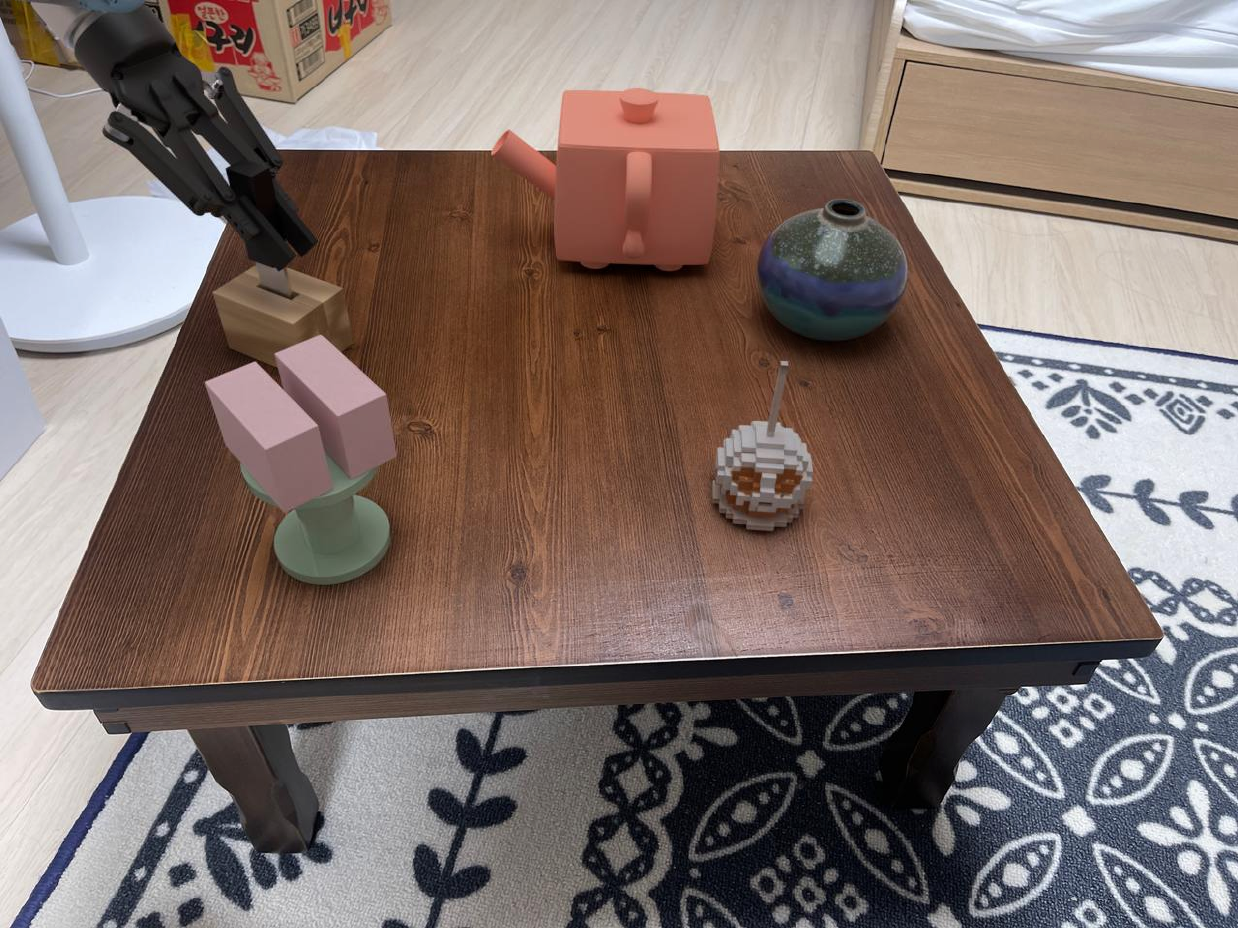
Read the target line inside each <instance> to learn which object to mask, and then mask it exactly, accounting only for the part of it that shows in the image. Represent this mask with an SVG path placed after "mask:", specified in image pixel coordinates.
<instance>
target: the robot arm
mask: <svg viewBox="0 0 1238 928" xmlns="http://www.w3.org/2000/svg"><path fill="white" fill-rule="evenodd" d="M16 1H17V2H18V1H19V2H27V4H29V6H30V7H31V8H32V9H33V10H34V11H35V12H36V13H37V15H38V16H39V17H40V18H41V19H42V21H44V23H45V24H46V25H47V26H48V27H49V29H50V30H51V32H53V33H54V35H55V36H56V37H57V38H58V39H59V40H60V41H61V43H62V44H63V45H64V46H65V47H66V49H69V50H71V51H74V58H75V60H76V61H77V63H79V64H80V66H81V67H82V68H83V69H84V71H85V72H86V73H87V74H88V75H89V76H90V77H91V79H92V80H93V81H94V82H95V83H96V84H97V86H98V87H99V88H100V89H101V90H102V91H104V92H106V93H108V94H109V96H110V99H111V102H112V106H113V107H114V109H115V110H114V111H111V112H110V114H109V115H108V117H107V119H106V121H105V123H104V125H103V127H102V130H101V132H102V135H103V136H104V138H106V139H108V140H109V141H111V142H113V143H114V144H116V145H118V146H120V147H121V148H123V149H125V150H127V151H128V152H129V153H130V154H131V155H132V156H133V157H134V158H135V159H136V160H137V161H139V162H140V164H142V166H144V167H145V169H147V171H148V172H150V173H151V174H152V175H153V176H154V177H155V178H156V179H157V180H158V181H159V182H160V183H161V184H162V185H164V186H165V188H167V189H168V191H170V193H172V194H173V195H174V196H175V197H176V198H177V199H178V200H179V201H180V202H181V203H182V204H183V205H184V206H185V207H186V208H187V209H188V210H189V211H190V212H192V214H194V215H195V216H198V217H202V216H203V217H204V215H205V214H210V215H211V216H212V217H214V218H216V219H217V218H218V219H219V218H222V217H223V218H224V219H225V220H226V222H227V223H228V224H229V225H230V226H231V228H233V230H234V232H236V233H237V234H238V236H239V237H240V238H241V239H242V240H243V241H244V240H245V241H246V242H250V241H251V240H252V241H253V242H254V243H255V244H256V245H257V247H258V248H259V249H260V250H261V251H262V253H263V254H264V255H265V256H266V257H267V259H268V260H269V261H270V262H271V263H272V264H273V266H274V267H275V268H276V269H277V270H278V272H279V271H281V270H282V269H284V268H285V267H287V266H288V265H289V264H290V263H291V262H292V261H293V260H294V259H295V258H296V257H297V255H298V256H299V257H300V258H302V257H304V256H306V255H308V253H309V252H310V251H311V250H312V249H313V248H314V247H315V246H316V245H317V244H318V243H319V239H318V238H317V237H316V236H315V234H314V233H313V232H312V231H311V229H309V227H308V226H307V225H306V223H305V222H304V221H303V220H302V219H301V217H300V216H299V215H298V214H297V213H296V212H297V211H298V206H297V203H295V201H294V200H293V199H292V198H291V196H290V195H289V194H288V193H287V191H286V190H285V189H284V188H283V186H281V184H280V183H279V181H278V180H277V176H278V174H279V171H280V170H281V168H282V167H283V166H284V164H285V162H284V161H285V160H284V157H282V155H281V153H280V152H279V150H278V149H277V147H276V146H275V144H274V143H273V141H272V139H271V138H270V137H269V135H268V134H267V132H266V131H265V129H264V128H263V127H262V125H261V123H260V122H259V120H258V119H257V117H256V116H255V114H254V113H253V111H252V110H251V108H250V107H249V106H248V104H247V102H246V101H245V100H244V98H243V97H242V95H241V94H240V92H239V90H238V87H237V84H236V80H235V78H234V74H233V72H232V70H231V69H230V68H229V67H226V66H220V67H219V68H218V69H217V71H209V70H202V69H200V67H199V66H198V64H196V63H194V62H193V61H192V60H190V59H188V58H187V57H186V56H185V55H183V54H182V53H181V50H180V48H179V46H178V44H177V40H176V38H175V37H174V36H173V34H172V33H171V32H170V31H169V29H168V28H167V27H166V26H165V25H164V24H163V22H162V21H161V20H160V19H159V17H158V16H157V15H156V14H155V12H154V11H153V10H152V9H151V7H149V6H148V5H146V4H144V3H146V1H147V0H16ZM205 91H206V92H207V95H206V94H205ZM212 100H213V101H214V102H213V101H212ZM220 114H221V115H220ZM140 123H141V124H140ZM142 124H143V125H145V126H147V127H149V128H151V129H152V130H153V132H154V134H155V135H156V136H155V135H154V134H152V132H150V130H148V129H147V128H146V127H145V126H143V125H142ZM196 136H201V138H203V139H204V140H205V142H207V143H208V144H209V146H211V147H212V149H214V151H215V152H217V153H218V154H219V155H220V157H221V158H223V160H224V161H225V162H226V163H228V165H229V166H231V165H233V164H235V163H237V162H239V161H241V160H243V159H245V160H248V161H251V162H254V163H257V164H260V165H263V166H266V167H269V169H270V173H271V177H272V182H273V186H274V191H275V195H276V200H277V204H278V208H279V213H280V217H281V222H282V226H283V230H284V235H285V239H286V242H285V241H284V240H283V238H282V237H281V236H280V235H279V234H278V232H277V231H276V230H275V229H274V228H273V226H272V225H271V224H270V223H269V222H268V220H267V219H266V218H265V217H264V216H263V214H262V213H261V212H260V211H259V210H258V209H257V207H256V206H255V205H254V204H253V203H252V201H251V200H250V199H249V198H248V197H247V195H244V196H242V197H240V198H239V199H238V201H237V200H236V199H235V198H236V195H235V193H234V191H233V190H232V188H231V187H230V185H229V182H228V181H227V180H226V179H225V177H224V175H223V174H222V173H221V171H220V169H219V168H218V167H217V166H216V164H215V162H213V161H214V160H212V158H211V157H210V156H209V154H208V153H207V151H206V150H205V148H204V147H203V146H202V144H201V143H200V141H199V140H198V139H197V138H198V137H196ZM157 137H158V138H157ZM287 242H288V243H287ZM289 245H290V246H291V247H290V246H289ZM292 248H293V249H292ZM296 253H297V254H296Z"/></svg>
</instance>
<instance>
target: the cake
mask: <svg viewBox="0 0 1238 928" xmlns="http://www.w3.org/2000/svg"><path fill="white" fill-rule="evenodd" d="M274 355H275V359H276V362H277V366H278V368H277V369H278V373H279V377H280V381H281V385H282V386H280V385H279V384H278V383H277V382H276V380H274V379H273V377H271V376H270V374H268V373H267V371H265V369H263V368H262V366H261V365H260V364H258V362H257V361H253V362H250V363H247V364H244V365H243V366H240V367H237V368H236V369H233V370H231V371H228V372H226V373H223V374H221V375H218V376H216V377H213V378H211V379H208V380H206V381H204V386H205V389H206V391H207V394H208V397H209V401H210V402H211V406H212V409H213V412H214V414H215V418H216V420H217V424H218V427H219V429H220V432H221V435H222V438H223V441H224V445H225V447H226V448H227V449H228V450H229V451H230V452H231V454H233V456H234V457H235V458H236V459H237V460H238V461H239V463H240V462H241V464H242V465H243V466H244V467H245V468H246V469H247V471H248V472H249V473H250V474H251V475H252V476H253V478H254V479H255V480H256V481H257V482H258V483H259V485H260V486H261V487H262V488H263V489H264V490H265V492H266V493H267V494H268V495H269V496H270V497H271V498H272V500H273V501H274V502H275V503H276V504H277V505H278V507H277V508H279V509H280V510H281V511H282V513H283V514H286V513H288V512H291V511H292V510H294V508H296V507H298V506H300V505H302V504H304V503H306V502H308V501H310V500H312V499H314V498H316V497H318V496H320V495H322V494H324V493H326V492H328V491H330V490H332V489H333V485H332V481H331V477H330V473H329V469H328V464H327V460H326V456H325V452H326V453H327V454H328V455H329V456H330V458H331V459H332V460H333V461H334V462H335V463H336V464H337V465H338V466H339V467H340V468H341V469H342V470H343V471H344V472H345V473H346V474H347V475H348V476H349V477H350V478H351V479H353V478H355V477H357V476H359V475H361V474H363V473H365V472H367V471H369V470H371V469H373V468H375V467H377V466H379V465H380V466H381V465H383V464H385V463H387V462H389V461H391V460H393V459H395V458H397V450H396V444H395V439H394V433H393V427H392V420H391V415H390V410H389V403H388V398H387V397H388V395H387V393H386V392H385V391H383V389H381V387H380V386H378V385H377V384H376V383H375V382H374V381H373V380H372V379H370V378H369V376H367V375H366V374H365V373H364V372H363V371H362V370H361V369H359V368H358V366H357V365H355V364H354V363H353V362H352V361H351V360H350V359H348V357H347V356H346V355H344V353H343V352H342V353H341V352H340V351H339V350H338V349H337V348H335V347H334V346H333V345H332V344H331V343H330V342H329V341H328V340H327V339H326V338H325V337H323V336H322V335H319V336H316V337H314V338H311V339H309V340H306V341H304V342H301V343H299V344H297V345H294V346H292V347H289V348H287V349H284V350H282V351H279V352H277V353H275V354H274ZM324 451H325V452H324Z"/></svg>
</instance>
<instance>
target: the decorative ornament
mask: <svg viewBox="0 0 1238 928" xmlns="http://www.w3.org/2000/svg"><path fill="white" fill-rule="evenodd" d="M788 371H789V361H788V360H780V362H779V367H778V372H777V377H776V381H775V387H774V392H773V395H772V396H773V397H772V402H771V406H770V411H769V417H768V420H767V421H765V420H764V421H763V420H753V421H751V422H750V425H748V424H747V425H746V424H739V425H738V427H737V429H731V433H730V434H729V435H730V436H729V437H725V438H723V443H722V446H721V447H720V446H718V447H717V450H716V455H715V463H714V479H713V480H712V482H711V498H712V499H711V500H712V502H711V503H712V504H718V513H719V514H725V518H726V519H731V520H732V524H737V525H746V526H745V529H746V530H755V531H766V532H767V531H770V532H774V529H775V527H780V528H786V527H787V524H788V523H793V520H794V519H799V516H800V510H804V509H805V497H804V496H805V492H806V491H807V492H810V491H811V488H812V484H813V473H814V470H813V461H812V455H811V453H809V452H808V446H807V442H802V438H801V437H800V436H799V433H796V432H795V431H794V428H792V427H783V425H782V424H781V423H782V422H779V421H778V419H779V418H778V417H779V413H780V409H781V403H782V399H783V394H784V390H785V385H786V380H787V375H788Z"/></svg>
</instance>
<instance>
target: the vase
mask: <svg viewBox="0 0 1238 928" xmlns="http://www.w3.org/2000/svg"><path fill="white" fill-rule="evenodd" d="M766 237H767V238H766V239H765V240H764V242H763V244H762V246H761V248H760V252H759V255H758V259H757V265H756V267H757V269H756V279H757V287H758V291H759V294H760V297H761V299H762V302H763V304H764V305H765V307H766V309H767V311H768V313H770V314H771V316H772V317H773V318H774V319H775V320H776V321H777V322H778V323H780V325H782V326H783V327H785V328H786V329H787V330H790V331H791V332H793V333H795V334H797V335H800V336H802V337H805V338H807V339H808V338H809V339H812V340H815V341H822V342H844V341H849V340H855V339H857V338H860V337H863V336H865V335H867V334H869V333H871V332H873V331H874V330H876V329H878V328H879V327H880V326H881V325H882V324H884V323H885V322H886V321H887V320H888V319H889V318H890V317H891V316H892V315H893V314H894V312H895V311H896V309H897V308H898V307H899V304H900V303H901V301H902V298H903V296H904V294H905V292H906V288H907V284H908V276H909V267H908V261H907V260H908V259H907V256H906V253H905V251H904V249H903V247H902V244H901V243H900V241H899V240H898V239H897V237H896V236H895V235H894V234H893V232H891V231H890V230H889V229H888V228H887V227H885V226H884V225H883V224H882V223H881V222H879V221H878V220H877V219H875V218H874V217H871V216H869V215H867V210H866V208H865V206H864V205H862V204H861V203H859V202H857V201H855V200H851V199H846V198H836V199H832V200H829V201H828V202H827V203H825V206H824V207H818V208H814V209H810V210H805V211H803V212H799V213H797V214H794V215H792V216H790V217H789V218H787V219H785V220H783V221H782V222H781V223H779V224H778V225H777V226H776V227H775V228H773V230H772V231H771V232H770V233H769V235H768V236H766Z"/></svg>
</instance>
